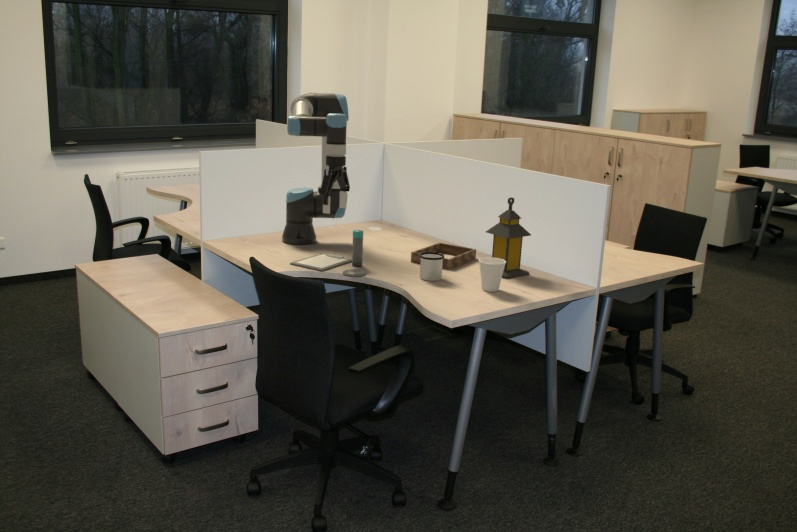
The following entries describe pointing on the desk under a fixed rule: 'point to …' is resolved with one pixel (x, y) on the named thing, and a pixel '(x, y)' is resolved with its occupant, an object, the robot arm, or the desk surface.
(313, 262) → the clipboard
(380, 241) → the desk surface
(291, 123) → the robot arm
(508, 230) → the lantern
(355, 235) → the marker
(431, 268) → the mug
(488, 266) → the cup
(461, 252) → the wooden frame
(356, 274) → the coaster
